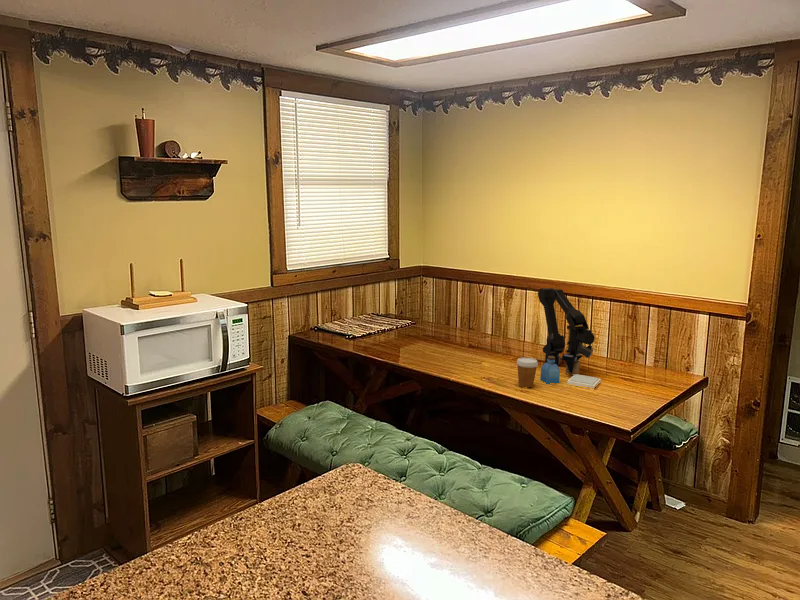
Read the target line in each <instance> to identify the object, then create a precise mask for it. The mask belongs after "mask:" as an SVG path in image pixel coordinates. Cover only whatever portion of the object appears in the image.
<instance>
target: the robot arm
mask: <svg viewBox="0 0 800 600" xmlns="http://www.w3.org/2000/svg"><path fill="white" fill-rule="evenodd" d="M537 297H538V300H539V303H540V304H541V305H542V307H543V309H544V316H545V321H546V327H547V332H548V335H547V338H546V343H545V346H543V347H542V353H544V354H545V358H544V363H548V362H547V359H548V356H554V357H555V362H554V364H556V365H557V366H558V367H559V366H560V365H561V360H562V361H564V362H565V365H566V364H567V367H568V369H569V372H570V373H572V371H573V367H574V363H575V362H576V361H579V360H580V359H581V358H582V357H585V358H587V359H589V358H590V357H591V356H592V354H593V352H594V349H593V346H592V344H594V342H595V339H596V337H595V334H594V333H593V332H592V330H591V329H590V328H589V324H588V322H587V320H586V319H587V318H586V317H585V315H584V314H583V313H582V312H581V311H580V310H578V309H577V308H575V307H574V305H573V304H572V303H571V301H570V300H569V298H568V297H567V296H566V294H565V293H564V291H563V289H561V288H556V289H554V288H553V287H545V288H544V287H543V288H540V289H539V290H538V291H537ZM555 302H557V304H558V306H560V308H561V309H562V311H563V312H564V314H565V319H566V322H567V323H568V326H567V327H566V329H567V330H568V331H569V332H568V340H567V342H565V336H564V335H561V334H560V332H559V327H558V323H557V322H558V320H557V316H556V310H555ZM566 343H567V345H568V346H567V350H566V352H565V353H564V352H563V351H564V350H565V347H566ZM583 344H585V345H583ZM563 353H564V354H563ZM560 354H563V355H561V356H560Z"/></svg>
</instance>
